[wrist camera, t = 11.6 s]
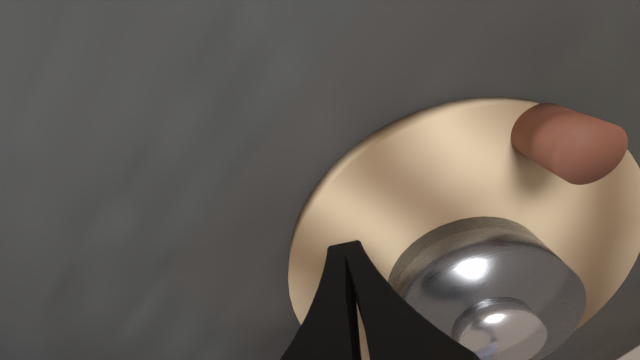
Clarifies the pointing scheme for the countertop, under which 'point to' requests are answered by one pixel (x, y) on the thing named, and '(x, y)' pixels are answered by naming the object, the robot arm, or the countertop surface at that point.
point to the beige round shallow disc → (478, 191)
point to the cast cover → (491, 288)
